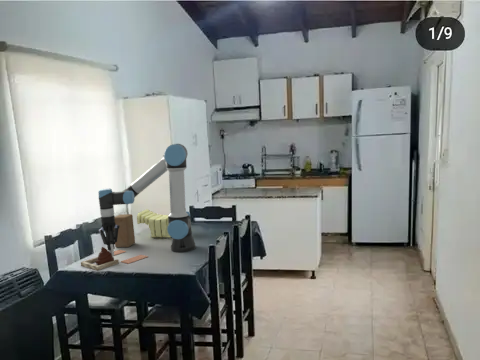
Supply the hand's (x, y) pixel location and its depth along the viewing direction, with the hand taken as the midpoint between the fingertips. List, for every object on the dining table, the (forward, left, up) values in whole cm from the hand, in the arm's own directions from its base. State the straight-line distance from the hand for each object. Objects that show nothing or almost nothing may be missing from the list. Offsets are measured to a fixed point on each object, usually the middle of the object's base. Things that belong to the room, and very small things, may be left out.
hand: (111, 255), depth 241 cm
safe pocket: (0, +8, -3) cm, 8 cm away
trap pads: (0, -7, -3) cm, 8 cm away
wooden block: (+21, -23, -3) cm, 32 cm away
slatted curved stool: (+17, -52, -3) cm, 55 cm away
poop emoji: (0, +5, -3) cm, 6 cm away
